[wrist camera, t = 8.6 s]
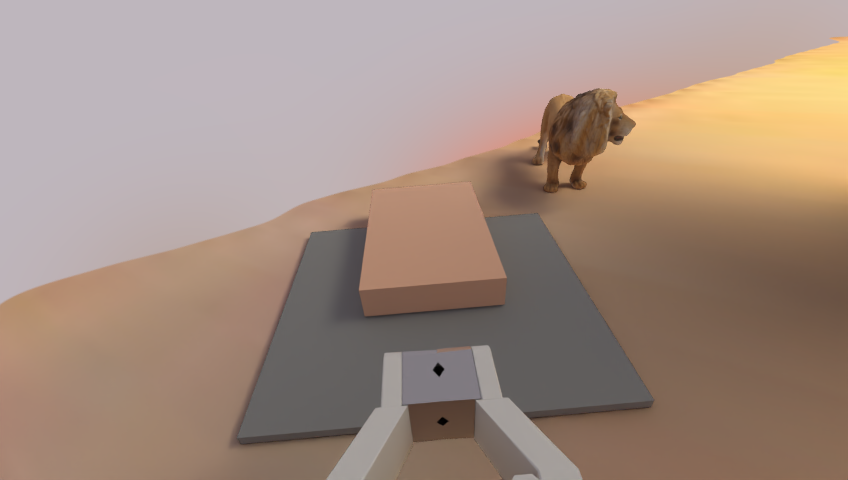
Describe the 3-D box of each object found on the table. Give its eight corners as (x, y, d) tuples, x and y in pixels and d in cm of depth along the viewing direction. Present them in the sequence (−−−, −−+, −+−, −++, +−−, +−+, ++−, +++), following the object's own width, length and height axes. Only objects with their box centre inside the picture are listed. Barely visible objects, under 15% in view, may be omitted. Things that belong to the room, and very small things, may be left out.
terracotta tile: (504, 306, 21) (470, 204, 31) (506, 277, 19) (470, 181, 29) (365, 318, 21) (376, 212, 30) (358, 290, 19) (372, 189, 29)
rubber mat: (536, 218, 29) (537, 213, 29) (651, 406, 16) (654, 400, 16) (313, 237, 29) (311, 232, 29) (240, 443, 16) (236, 438, 15)
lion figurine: (621, 208, 30) (654, 92, 24) (556, 213, 30) (575, 98, 25) (559, 145, 42) (573, 59, 37) (513, 148, 42) (520, 63, 37)
